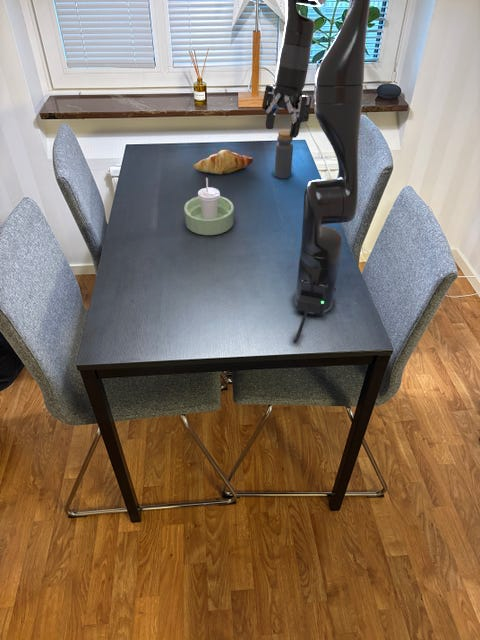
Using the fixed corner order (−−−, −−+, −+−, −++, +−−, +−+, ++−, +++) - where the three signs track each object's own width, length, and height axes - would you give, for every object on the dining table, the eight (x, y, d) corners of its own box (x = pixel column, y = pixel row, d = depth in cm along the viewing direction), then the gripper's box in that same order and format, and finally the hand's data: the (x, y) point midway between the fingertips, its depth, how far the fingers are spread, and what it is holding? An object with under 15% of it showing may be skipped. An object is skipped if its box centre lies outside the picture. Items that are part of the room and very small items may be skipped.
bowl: (225, 240, 147) (224, 224, 144) (178, 232, 150) (176, 215, 147) (239, 214, 158) (239, 199, 154) (195, 207, 161) (194, 191, 157)
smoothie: (209, 213, 157) (207, 171, 147) (225, 220, 154) (224, 178, 144) (195, 222, 153) (192, 179, 144) (210, 229, 150) (209, 186, 141)
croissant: (196, 184, 178) (196, 170, 171) (190, 160, 181) (191, 146, 174) (254, 176, 182) (257, 162, 174) (248, 153, 185) (250, 138, 177)
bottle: (293, 176, 176) (297, 134, 165) (278, 179, 174) (281, 137, 164) (286, 169, 180) (289, 127, 169) (271, 172, 178) (273, 130, 168)
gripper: (262, 59, 127) (252, 126, 136) (305, 70, 119) (291, 141, 128) (282, 60, 132) (271, 125, 141) (324, 71, 124) (310, 139, 133)
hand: (281, 133), depth 134 cm, fingers open, 8 cm apart
